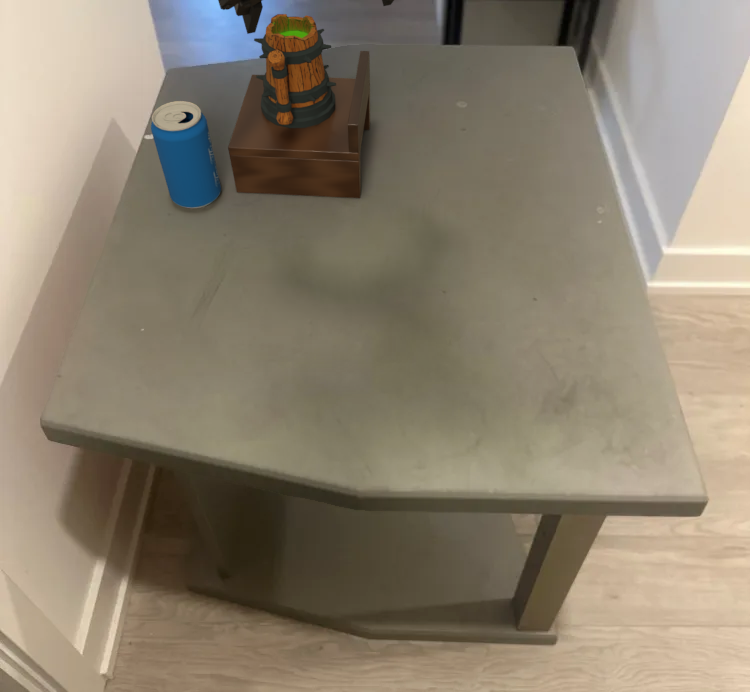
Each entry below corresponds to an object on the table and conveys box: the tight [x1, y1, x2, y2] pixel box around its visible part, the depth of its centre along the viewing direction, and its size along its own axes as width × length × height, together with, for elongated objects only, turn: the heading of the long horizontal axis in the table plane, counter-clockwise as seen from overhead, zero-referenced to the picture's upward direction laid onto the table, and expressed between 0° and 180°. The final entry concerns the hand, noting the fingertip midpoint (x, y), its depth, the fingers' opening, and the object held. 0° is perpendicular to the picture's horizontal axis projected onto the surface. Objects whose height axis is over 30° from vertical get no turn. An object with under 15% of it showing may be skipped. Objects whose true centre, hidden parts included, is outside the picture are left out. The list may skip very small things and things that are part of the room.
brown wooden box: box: [227, 50, 371, 199], centre depth 96 cm, size 16×16×11 cm
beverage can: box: [150, 100, 222, 209], centre depth 90 cm, size 6×6×12 cm
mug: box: [253, 13, 336, 128], centre depth 90 cm, size 13×10×12 cm
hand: (316, 4), depth 70 cm, fingers open, 13 cm apart
